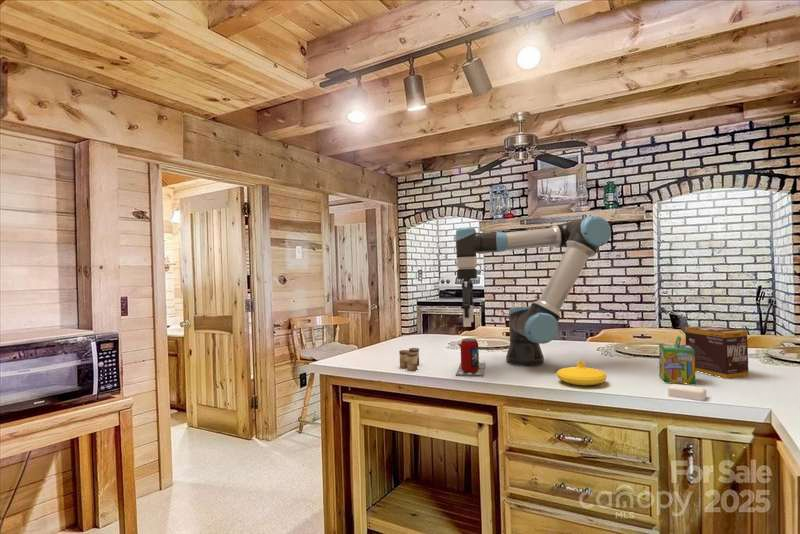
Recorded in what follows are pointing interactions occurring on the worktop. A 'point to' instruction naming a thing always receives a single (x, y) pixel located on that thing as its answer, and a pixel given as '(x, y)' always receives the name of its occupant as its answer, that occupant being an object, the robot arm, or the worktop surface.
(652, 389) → the worktop surface
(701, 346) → the supplement box
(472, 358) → the beverage can
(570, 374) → the yellow lidded dish
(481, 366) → the pad two
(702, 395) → the soap
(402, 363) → the jar
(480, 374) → the pad three
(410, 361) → the jar
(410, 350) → the jar
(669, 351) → the chalk box
